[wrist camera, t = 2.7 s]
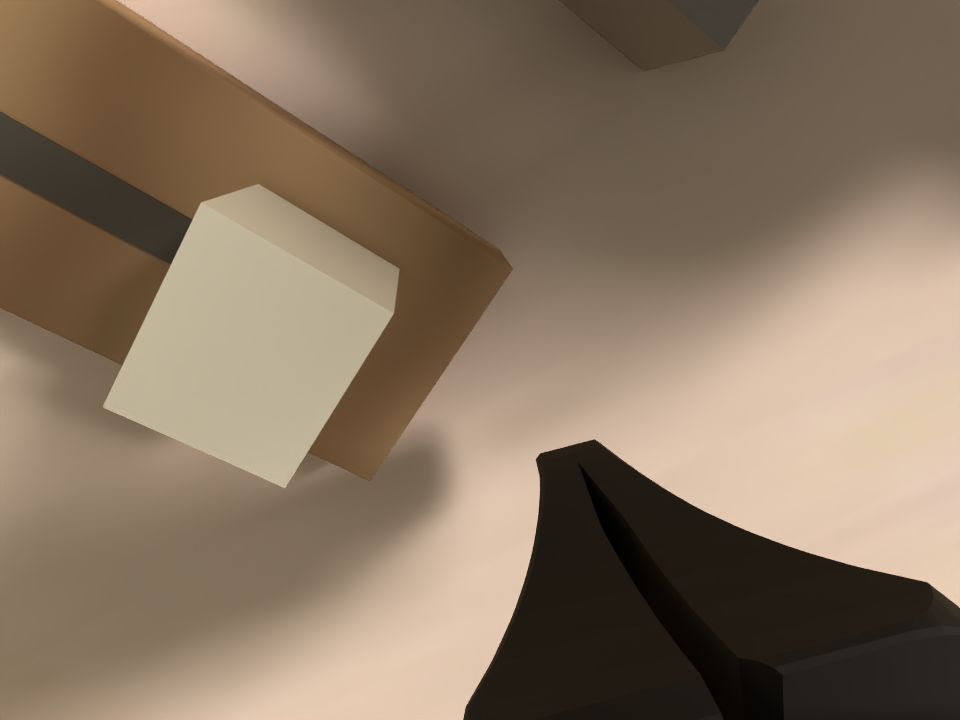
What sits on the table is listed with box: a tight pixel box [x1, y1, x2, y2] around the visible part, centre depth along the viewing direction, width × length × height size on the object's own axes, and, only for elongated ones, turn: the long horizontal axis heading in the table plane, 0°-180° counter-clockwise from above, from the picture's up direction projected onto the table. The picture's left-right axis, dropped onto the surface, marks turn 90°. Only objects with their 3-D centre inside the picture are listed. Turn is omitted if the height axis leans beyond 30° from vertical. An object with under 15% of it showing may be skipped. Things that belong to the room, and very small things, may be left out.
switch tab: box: [103, 184, 400, 488], centre depth 10 cm, size 3×4×3 cm
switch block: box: [0, 0, 513, 481], centre depth 11 cm, size 14×6×2 cm, turn 57°
